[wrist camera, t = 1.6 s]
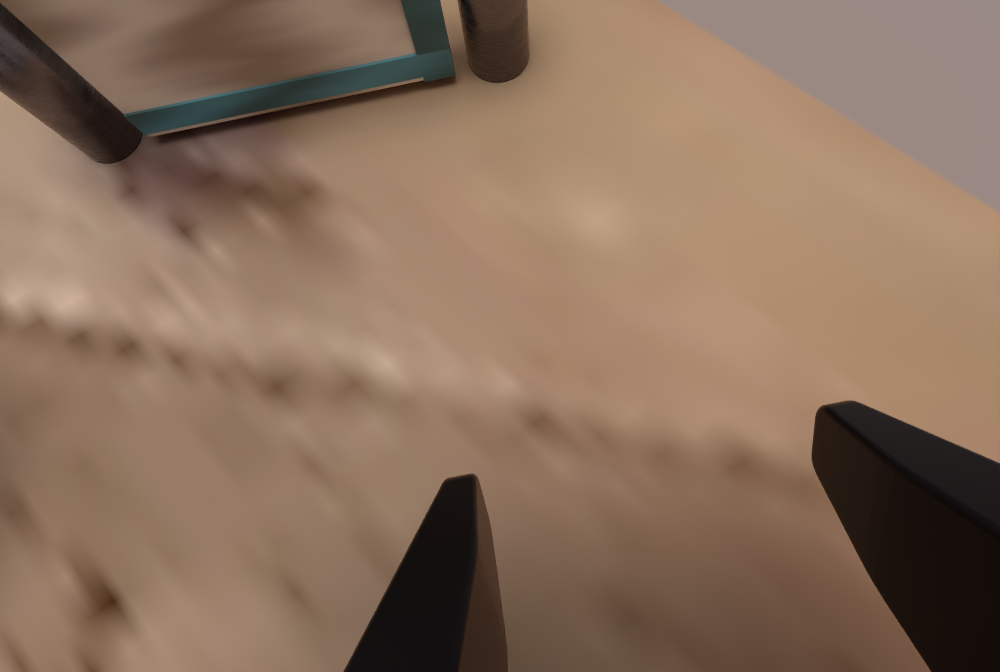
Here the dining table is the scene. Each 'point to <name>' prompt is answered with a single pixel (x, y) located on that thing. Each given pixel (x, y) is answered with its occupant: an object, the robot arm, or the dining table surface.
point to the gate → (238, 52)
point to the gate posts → (111, 137)
